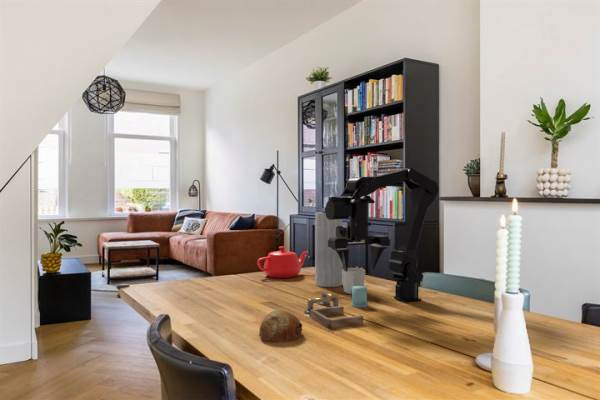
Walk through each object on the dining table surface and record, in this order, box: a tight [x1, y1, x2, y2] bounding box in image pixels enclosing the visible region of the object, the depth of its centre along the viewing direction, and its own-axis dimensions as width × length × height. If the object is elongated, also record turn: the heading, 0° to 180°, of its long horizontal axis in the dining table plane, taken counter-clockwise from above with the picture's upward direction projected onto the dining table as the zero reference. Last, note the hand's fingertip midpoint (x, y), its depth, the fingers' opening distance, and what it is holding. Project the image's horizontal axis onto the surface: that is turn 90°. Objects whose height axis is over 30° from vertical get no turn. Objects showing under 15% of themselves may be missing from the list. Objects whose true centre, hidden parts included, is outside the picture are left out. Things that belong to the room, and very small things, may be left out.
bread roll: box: [258, 309, 303, 343], centre depth 108 cm, size 10×10×8 cm
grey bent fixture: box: [303, 290, 339, 315], centre depth 135 cm, size 12×12×4 cm
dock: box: [308, 305, 364, 329], centre depth 121 cm, size 10×12×2 cm
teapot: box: [256, 245, 309, 279], centre depth 188 cm, size 25×16×12 cm, turn 124°
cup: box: [342, 267, 366, 295], centre depth 154 cm, size 11×8×8 cm
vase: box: [314, 211, 343, 288], centre depth 169 cm, size 10×10×27 cm
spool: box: [350, 285, 369, 309], centre depth 138 cm, size 5×5×6 cm
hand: (359, 270), depth 138 cm, fingers open, 9 cm apart
